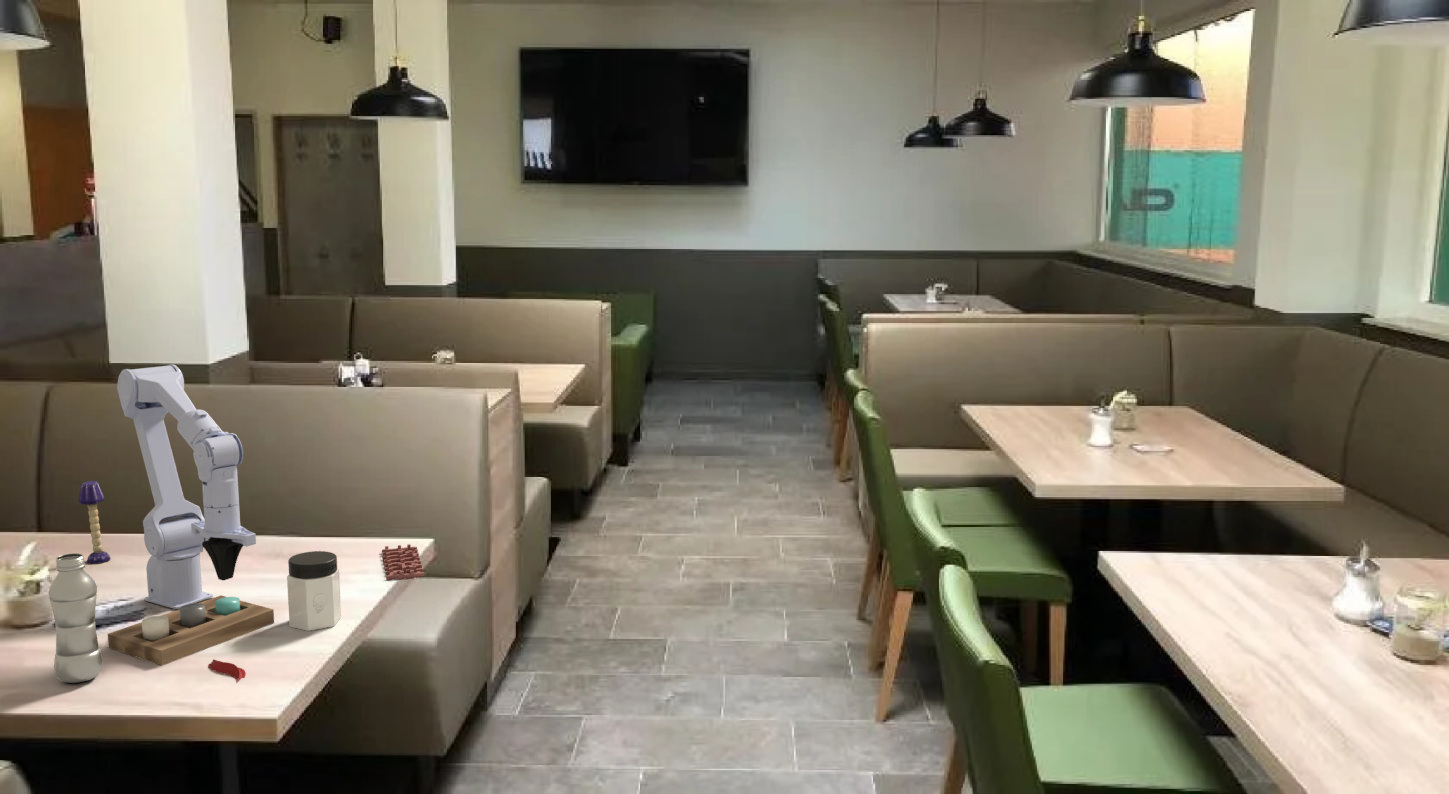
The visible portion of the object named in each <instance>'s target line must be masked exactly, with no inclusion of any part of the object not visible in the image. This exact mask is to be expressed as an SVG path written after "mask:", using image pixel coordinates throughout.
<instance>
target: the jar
mask: <svg viewBox="0 0 1449 794" xmlns="http://www.w3.org/2000/svg"><path fill="white" fill-rule="evenodd" d="M287 562H288V563H287V564H288V575H287V576H286V584H287V599H288V601H287V603H288V605H287V606H288V619H289V622H288V625H289V627H291V628H294V629H298V630H302V631H307V632H312V631H317V630H316V629H318V630H321V629H327V627H328V628H332V627H335V626H336V624H337V623H338V621H339V620H340V619H341V618H342V605H341V603H342V602H341V585H340V584H341V583H340V582H341V581H340V580H341V579H340V568H339V567H338V556H337V555H336V553H333V552H330V551H325V550H318V551H317V550H316V551H315V550H314V551H313V550H311V551H306V552H300V553H296V554H294V555H293V556H291V557H289V558H288V561H287ZM311 630H312V631H311Z"/></svg>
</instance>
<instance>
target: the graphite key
mask: <svg viewBox="0 0 1449 794" xmlns="http://www.w3.org/2000/svg"><path fill="white" fill-rule="evenodd" d="M178 610H179V612H180V625H181V626H183V627H195V626H198V625H201V624H204V623H205V622H206V616H205V605H204V604H200V602H197V603H193V604H187V605H184V606H182V607H180V608H179V609H178Z"/></svg>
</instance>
